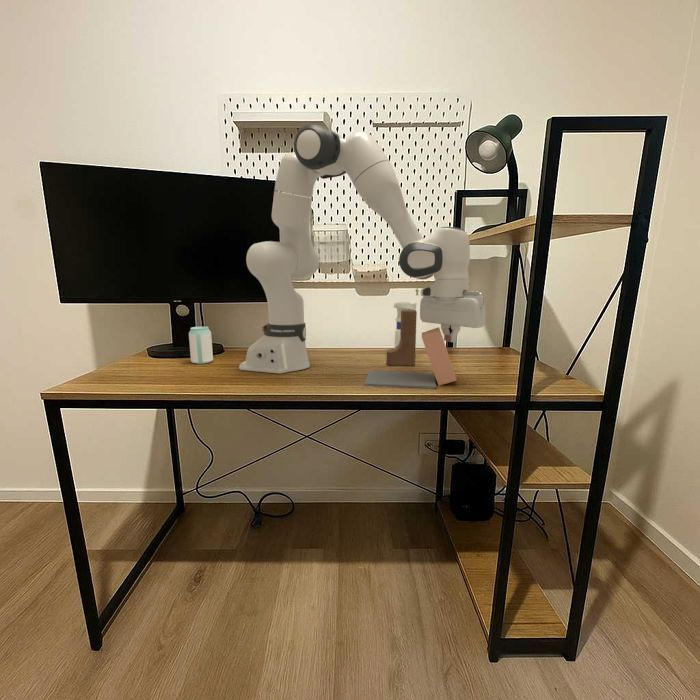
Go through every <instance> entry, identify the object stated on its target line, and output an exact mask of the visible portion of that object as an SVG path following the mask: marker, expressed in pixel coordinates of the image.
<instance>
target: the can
mask: <svg viewBox="0 0 700 700" xmlns="http://www.w3.org/2000/svg"><path fill="white" fill-rule="evenodd" d="M212 339H213V337H212V331H211V330H210V329H209V326H193V327H190V330H189V332H188V340H189V352H190V353H189V355H190V362H191V363H193V364H194V363H197V364H196V365H206V364H209V363H211V362H212V361H214V355H213V340H212ZM205 363H206V364H205Z"/></svg>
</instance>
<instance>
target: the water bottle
mask: <svg viewBox="0 0 700 700" xmlns="http://www.w3.org/2000/svg"><path fill="white" fill-rule="evenodd" d="M419 291H420V290H419V289H418V287H416V289H415V292H416V293H415V296H416V297H417V296H419ZM417 305H418V304H417V303H411V302H408V301H407V302H406V301H404V302H403V301H399V302H396V301H395V302H394V304H393V308H394V309H396V312H397V313H396V318H395V321H396V329H395V331H394V347H393V349H394V348H396V347H397V346H398V345H399V342H400V334H401V310H409V309H414V310H416V311H417Z"/></svg>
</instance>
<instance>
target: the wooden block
mask: <svg viewBox="0 0 700 700" xmlns="http://www.w3.org/2000/svg"><path fill="white" fill-rule="evenodd" d="M417 315H418V314H417V309H416V310H414V309H409V310H401V334H400V342H399V345H398V346H397V347H396V348H394V347H393V348H390V349H387V350H386V363H387V366H415V365H416V347H417V346H416V345H417V341H416V339H417Z"/></svg>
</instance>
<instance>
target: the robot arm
mask: <svg viewBox="0 0 700 700" xmlns="http://www.w3.org/2000/svg"><path fill="white" fill-rule="evenodd" d="M278 166H279V167H278V170H277V173H276V179H275V183H274V190H273V201H272V209H271V220H272V222H273V224H274V225H275V226H276V227H278V229H279V231H280V236H281V237H280V240H281V241H273V240H269V241H268V240H267V241H266V240H265V241H261V242H257V243H253V244H252V245H251V246H250V247H249V248H248V250H247V253H246V257H245V258H246V259H245V261H246V266H247V269H248V271H249V272H250V273H251V275H253V276H254V277H255V278H256V280H258V281H259V283H260V284H261V286H262V289H263V291H264V294H265V297H266V301H267V310H268V311H267V312H268V323H266V324H265V325H264V326H261V331H263V336H261V337H260V338H258V340H256V341H255V342H254V343H252V344H251V345H250V346H249V348H248V349H247V351H246V356H245V360H244V361H243V362H241V363H240V364H239V366H238V370H240V371H247V372H248V371H249V372H250V371H251V372H258V373H259V372H261V373H272V374H284V373H289V372H295V371H296V372H297V371H300V370H305V369H308V368H310V366H311V363H310V360H309V357H308V351H307V346H306V340H307V339H306V338H307V327H306V322H305V311H304V310H305V307H304V306H305V305H304V304H305V301H304V299H303V297H302V295H301V294H300V293H299V292H297V290H295V288H294V285H293V281H292V279H296V280H297V279H304V278H308V277H310V276H312V275H314V274H316V272H317V271H318V268H319V265H320V257H319V254H318V252H317V250H316V249H315V248H314V247H313V244H312V240H311V234H310V218H311V217H310V216H311V210H312V201H313V194H314V188H315V183H316V182H317V180H318V179H319V178H320V179H323V180H324V179H330V178H331V179H332V178H338V177H341V176H344V175H345V174H347V175H348V177H349V179H350V181H351V182H352V185H353V187H354V188H355V190H356V192H357V193H358V195H359V196H360V197H361V199H362V200H363V201H364V202H365V204H366V205H367V206H368V207H369V208H370V209H371V210H372V211H374V212H375V213H376V214H377V215H379V217H381V218H382V219H383V220H384V221H385V222H386V223H387V225H388V226H389V227H390V229H391V231H392V232H393V235H394V237H395V238H396V240H397V241H398V242H399V245H400V246H401V249H402V250H401V252H400V254H399V257H398V261H399V262H398V264H399V267H400V269H401V270H402V272H403V274H405V275H406V276H408V277H410V278H413V279H417V280H427V279H430V278H432V277H434V283H432V284H430V285H427V286H425V287H423V288H421V289H420V296H421V299H420V302H419V303H420V304H419V318H420V320H421V322H422V323H429V324H437V325H440V330H441V333H442V335H443V340H444V342H450V343H456V342H457V338H458V334H459V333H460V331H461V328H470V329H471V328H472V329H480V328H483V327H484V326H485V325H486V322H487V321H486V306H485V296H484V294H482V293H481V292H480V291H479V290H469V288H470V275H469V265H470V263H471V262H470V261H471V260H470V259H471V256H470V255H471V253H470V252H471V249H470V237H469V234H468V233H467V232H466V231H465V230H464V229H463V228H459V227H453V226H440V227H439V228H438V229H436V230H435V231H434V232H433V233H430V234H429V235H428V236H425V237H423V236H422V235H421V233H420V232H419V230H418V228H417V226H416V224H415V222H414V221H413V219H412V217H411V216H410V215H411V214H410V213H409V211H408V209H407V206H406V202H405V200H404V196H403V193H402V189H401V186H400V182H399V180H398V176H397V174H396V172H395V170H394V167H393V166H392V164H391V162H390V160H389V158H388V157H387V155H386V153H385V152H384V150H383V149H382V147H381V146H380V145H379V143H378V142H377V140H376V139H375V138H374V136H372V135H371V134H370V133H368V132H366V131H357V132H354V133H352V134H350V135H349V136H348V137H346V138H344V137H342V136H341V135H340V134H338V133H337V132H335V131H334V130H330V129H329V128H327V127H325V126H323V125H319V124H313V123H312V124H307V125H304V126H302V127H301V128H300V129H299V130H298V131H297V133H296V135H295V137H294V141H293V151H292V152H288V153H286V154H284V156H282V158H281V160H280V163H279V165H278ZM450 329H451V330H452V331H451V333H450Z"/></svg>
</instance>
